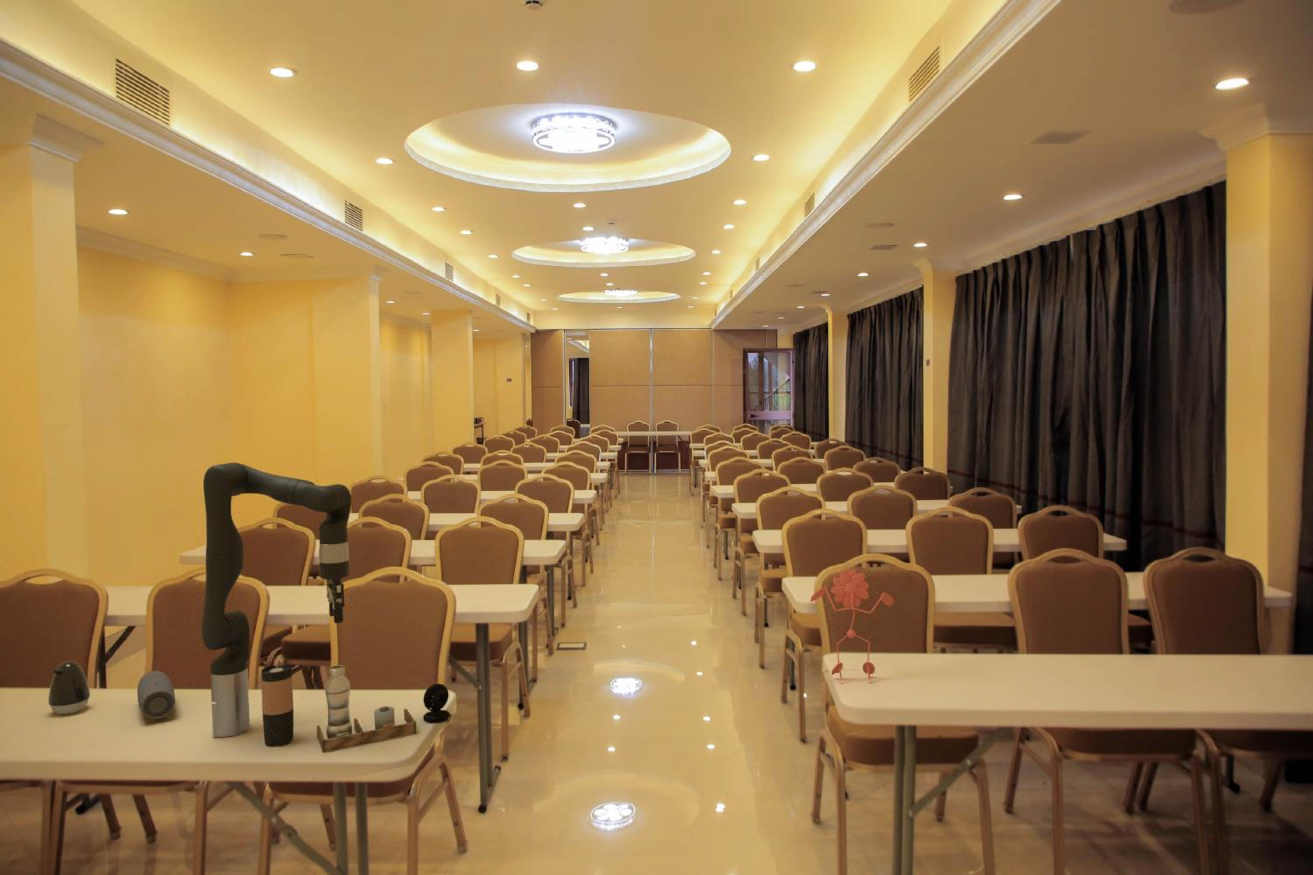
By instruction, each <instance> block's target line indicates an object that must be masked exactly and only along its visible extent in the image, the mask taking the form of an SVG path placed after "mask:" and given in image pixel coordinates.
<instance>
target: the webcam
mask: <svg viewBox="0 0 1313 875" xmlns="http://www.w3.org/2000/svg"><path fill="white" fill-rule="evenodd" d="M449 695H450V694H449V690H448V687H447V686H445V685H444V684H443V683H434V684H432V685H430V686H429V687H427V689H426V690H425V692H424V695H423V699H422V701H423V705H424V707H425V708H426V709H427V710H428V711H427V712H426V713H424V714H423V717H422V719H423V721H424V722H426V723H429V724H431V723H432V724H433V723H435V724H436V723H442V722H446V721H447V720H449V718H450V716H451V713H450V711H448V710H447V709H443V708H444V707H445V706H446V705H447V703H448V700H449ZM432 716H434V717H432Z"/></svg>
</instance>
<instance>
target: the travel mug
mask: <svg viewBox="0 0 1313 875" xmlns="http://www.w3.org/2000/svg"><path fill="white" fill-rule="evenodd" d="M260 670H261V672H260V673H261V674H260V675H261V710H262V712H261V713H262V726H263V728H262V729H263V739H264V745H265V746H267V747H271V748H272V747H275V748H276V747H281V746H285V745H288V744H290V743H292V742H293V740H294V694H293V693H294V691H293V690H294V689H293V671H292V665H290V664H286V663H285V664H283V665H281V666H277V665H275V664H273V665H269V666H265V667H263V668H262V669H260Z"/></svg>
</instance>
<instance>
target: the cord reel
mask: <svg viewBox="0 0 1313 875" xmlns="http://www.w3.org/2000/svg"><path fill="white" fill-rule="evenodd" d="M373 715H374V730H376V729H381V728H383V725H386V724H392V723H394V724H395V721H396V720H395V708H394V707H392V706H386V705H385V706H380V707H378V708H376V709H375V710H374V714H373ZM395 725H396V724H395Z"/></svg>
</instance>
